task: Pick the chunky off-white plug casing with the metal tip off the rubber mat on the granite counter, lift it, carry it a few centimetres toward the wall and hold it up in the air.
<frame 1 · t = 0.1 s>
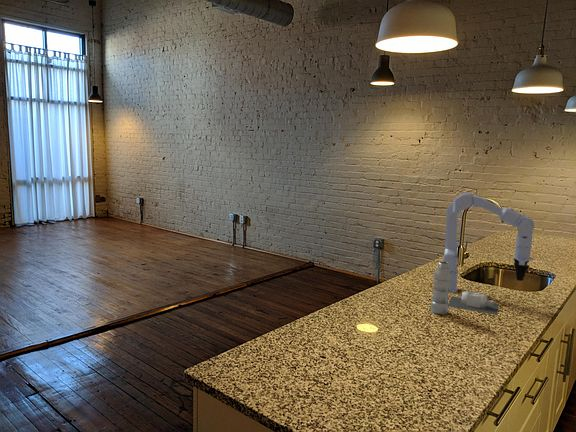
hand: (519, 278, 185), 10 cm above the worktop, tool pointing down, fingers open, 7 cm apart
rubber mat: (473, 306, 179), on the worktop
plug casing: (473, 305, 179), resting on rubber mat
plastic bottle: (438, 314, 170), on the worktop
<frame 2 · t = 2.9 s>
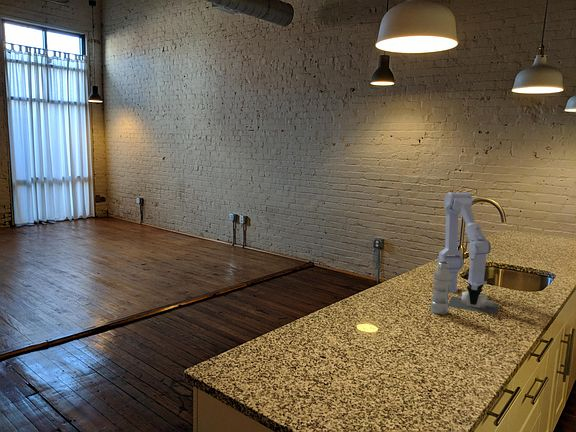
hand: (473, 302, 179), 2 cm above the worktop, tool pointing down, fingers closed on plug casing, 4 cm apart
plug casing: (473, 305, 179), resting on rubber mat, touching gripper
everything else where it was.
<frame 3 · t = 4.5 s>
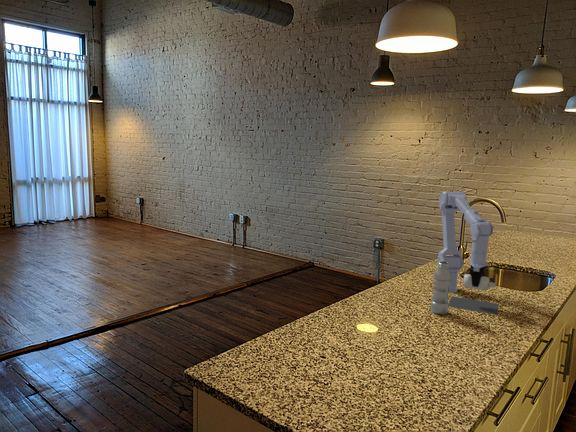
hand: (475, 284, 178), 9 cm above the worktop, tool pointing down, fingers closed on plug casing, 4 cm apart
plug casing: (475, 287, 178), point 8 cm above the worktop, touching gripper
everything else where it was.
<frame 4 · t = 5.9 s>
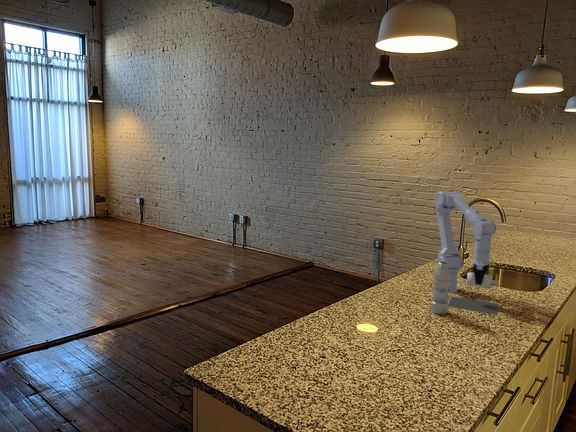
hand: (478, 282, 181), 9 cm above the worktop, tool pointing down, fingers closed on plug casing, 4 cm apart
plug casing: (478, 285, 181), point 8 cm above the worktop, touching gripper
everything else where it was.
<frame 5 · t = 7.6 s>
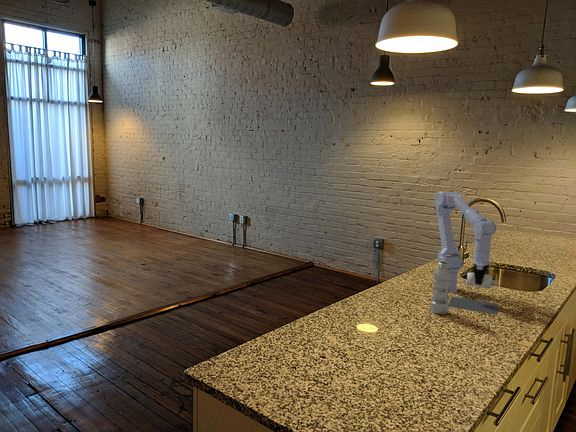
hand: (478, 282, 181), 9 cm above the worktop, tool pointing down, fingers closed on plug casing, 4 cm apart
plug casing: (478, 285, 181), point 8 cm above the worktop, touching gripper
everything else where it was.
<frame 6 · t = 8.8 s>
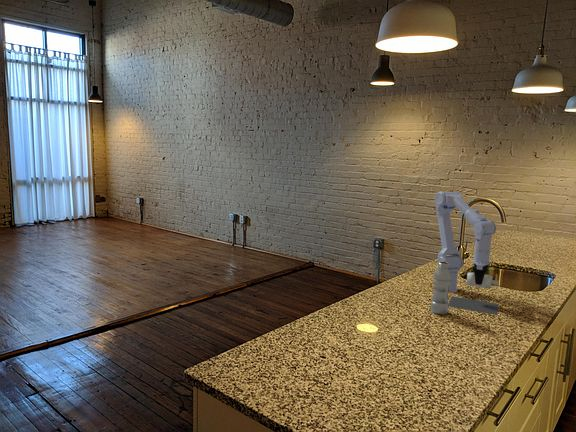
hand: (478, 282, 181), 9 cm above the worktop, tool pointing down, fingers closed on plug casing, 4 cm apart
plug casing: (478, 285, 181), point 8 cm above the worktop, touching gripper
everything else where it was.
at the end: the gripper is holding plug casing; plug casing inside the target area (0.0 cm from its centre), point 7.8 cm above the worktop; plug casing touching gripper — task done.
